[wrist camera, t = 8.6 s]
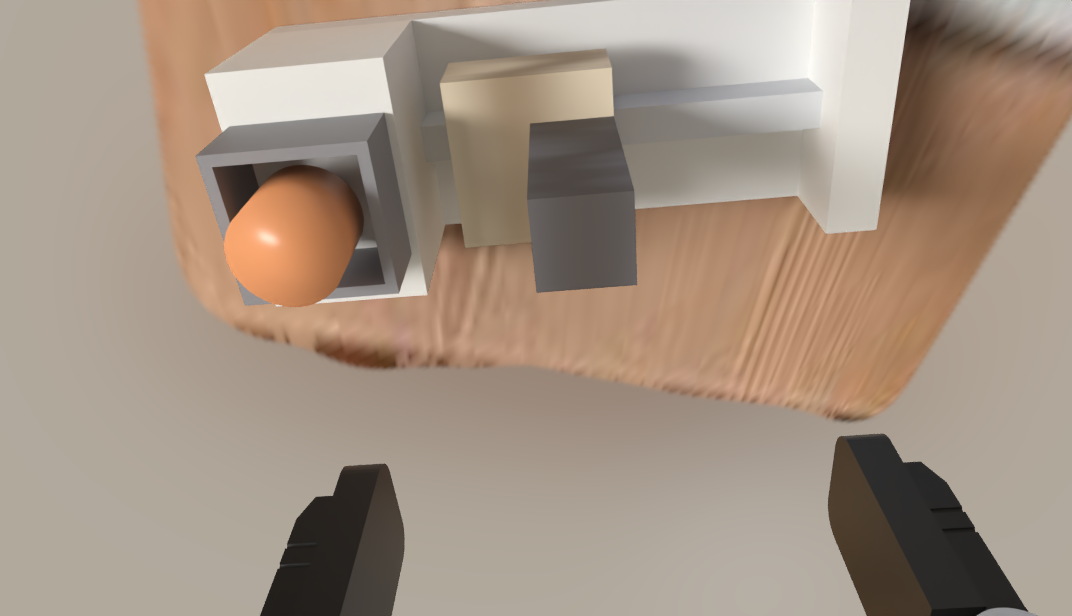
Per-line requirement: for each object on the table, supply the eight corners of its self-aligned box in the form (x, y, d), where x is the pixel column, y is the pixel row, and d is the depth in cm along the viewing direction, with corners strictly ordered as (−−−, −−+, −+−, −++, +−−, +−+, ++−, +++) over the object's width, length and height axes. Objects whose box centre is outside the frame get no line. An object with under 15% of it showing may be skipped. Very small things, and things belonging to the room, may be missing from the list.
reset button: (351, 160, 25) (329, 195, 22) (373, 258, 27) (355, 302, 24) (242, 169, 25) (208, 205, 22) (272, 266, 27) (243, 311, 24)
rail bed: (855, -30, 31) (992, 22, 22) (830, 191, 36) (933, 312, 27) (275, 26, 32) (166, 99, 23) (328, 232, 37) (255, 362, 28)
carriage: (602, 38, 31) (632, 131, 20) (609, 188, 34) (638, 332, 24) (453, 52, 31) (410, 150, 21) (474, 199, 34) (446, 346, 24)
